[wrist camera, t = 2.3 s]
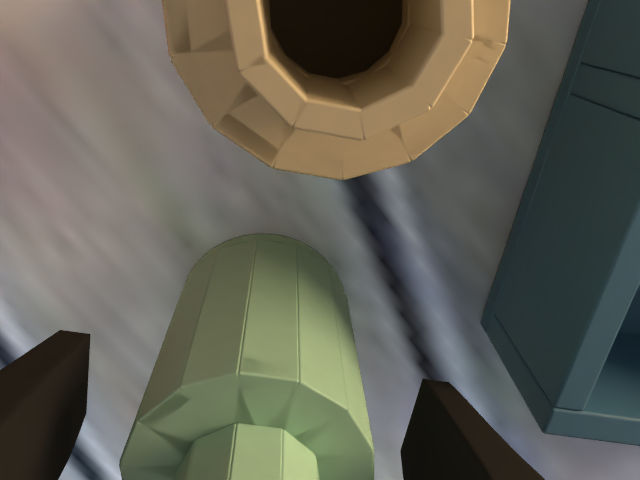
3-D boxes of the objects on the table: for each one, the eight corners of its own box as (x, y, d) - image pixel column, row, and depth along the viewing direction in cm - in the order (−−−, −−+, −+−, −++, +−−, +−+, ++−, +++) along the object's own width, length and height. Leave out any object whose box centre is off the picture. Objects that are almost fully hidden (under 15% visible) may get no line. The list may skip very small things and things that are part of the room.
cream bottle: (393, 118, 14) (499, 251, 7) (205, 82, 14) (107, 186, 7) (443, -88, 13) (649, -194, 5) (229, -137, 12) (137, -326, 5)
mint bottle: (330, 386, 17) (357, 675, 10) (172, 365, 17) (79, 654, 10) (363, 248, 16) (425, 473, 8) (189, 220, 15) (92, 434, 8)
